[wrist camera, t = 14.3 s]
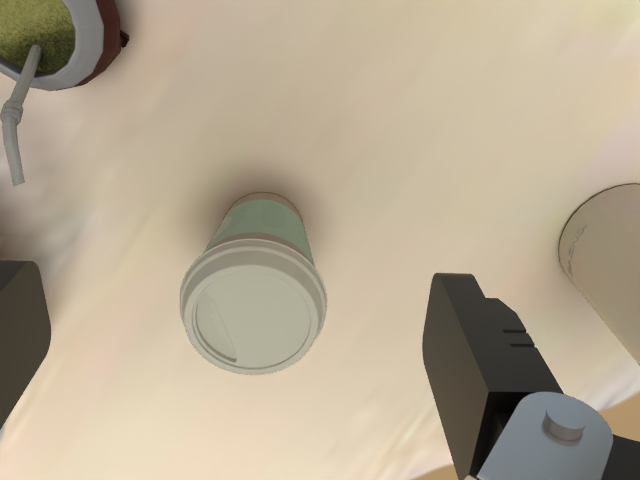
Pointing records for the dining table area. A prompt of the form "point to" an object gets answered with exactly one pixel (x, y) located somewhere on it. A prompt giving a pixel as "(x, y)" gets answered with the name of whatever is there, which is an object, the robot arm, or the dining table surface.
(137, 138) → the dining table surface
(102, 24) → the mate gourd
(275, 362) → the coffee cup
